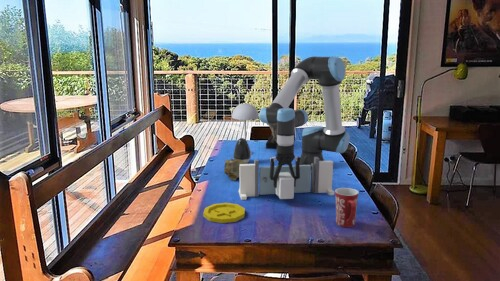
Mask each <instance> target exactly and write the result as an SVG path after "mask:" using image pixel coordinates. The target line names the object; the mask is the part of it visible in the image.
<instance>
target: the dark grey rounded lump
mask: <svg viewBox="0 0 500 281" xmlns="http://www.w3.org/2000/svg"><path fill="white" fill-rule="evenodd" d="M250 151H251V149H250V146H249V143H248V140H247V139H246V140H245V137H244V138H243V137H241V138H239V139H238V140H237V142H236V143H235V146H234V150H233V158H232V159H240V160H243V162H248V163H249V162H250V160H251V157H252V156H251V155H252V154H250Z"/></svg>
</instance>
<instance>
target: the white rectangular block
mask: <svg viewBox="0 0 500 281" xmlns="http://www.w3.org/2000/svg"><path fill="white" fill-rule="evenodd" d="M277 180H278V181H279V195H277V197H278V198H279V200H291V199H294V198H295V197H294V196H295V193H294V178H293V177H292V176H291V174H290V173H289V172H280V173H279V176H278V179H277Z"/></svg>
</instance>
